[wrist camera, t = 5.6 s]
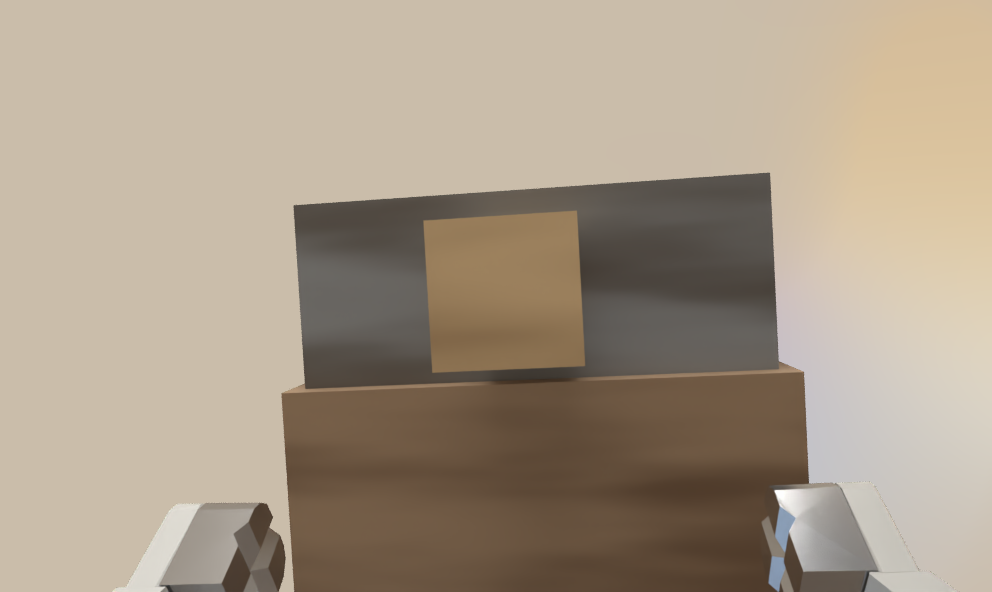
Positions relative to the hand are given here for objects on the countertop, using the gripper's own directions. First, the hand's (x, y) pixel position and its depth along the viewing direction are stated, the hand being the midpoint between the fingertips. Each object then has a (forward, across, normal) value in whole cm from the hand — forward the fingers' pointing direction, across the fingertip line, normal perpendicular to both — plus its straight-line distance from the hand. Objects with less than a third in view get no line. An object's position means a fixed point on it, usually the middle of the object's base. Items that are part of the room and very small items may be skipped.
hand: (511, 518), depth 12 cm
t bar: (+8, 0, +4) cm, 8 cm away
